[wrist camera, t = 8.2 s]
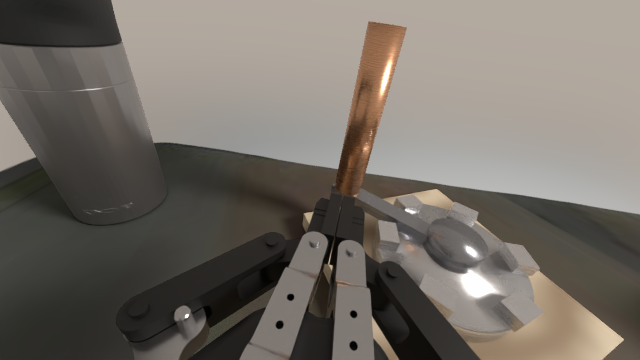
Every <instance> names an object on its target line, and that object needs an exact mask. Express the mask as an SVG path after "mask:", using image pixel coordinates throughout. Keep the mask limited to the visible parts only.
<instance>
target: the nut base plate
mask: <svg viewBox="0 0 640 360" xmlns="http://www.w3.org/2000/svg"><path fill="white" fill-rule="evenodd" d="M407 195H412V194H407ZM407 195H402V196H396V197H391V198H385V199H383V200H385V201H387V202H389V203H391V204H394V202H395V199H396V198H398V197H403V196H407ZM413 195H414V196H416V197H417V198H418V199H419V200H420V201H421V202H422V203H423V204H426V205H432V206H437V207H440V208H444V209H447V210H450V208H451V207H452V205H453V203H454V202H452V201H451V200H450V199H449V198H447V197H446V196H445V195H444V194H442V193H441V192H440V191H439V190H437V189H434V190H429V191H424V192H418V193H413ZM340 209H341V207H340ZM339 213H340V212H339ZM364 213H365V220H364V238H363V247H364V250H365V252H366V253H367V255H368V256H369V257H371V258H372V259H373V256H372V244H373V239H374V236H375V234H376V233H375V227H376V224H377V221H378V219H377V218H375V217H373V216H371V215H369V214H368V213H366V212H364ZM312 215H313V212H309V213H304V217H303V227H304V229H305V232H307V230H308V227H309V224H310V221H311V218H312ZM475 223H477V224H478V225H480V226H481V227H483V226H482V225H481V224H480V223H478V222H477V221H476V222H475ZM483 228H484V229H486V228H485V227H483ZM486 230H487V229H486ZM487 231H488V230H487ZM489 232H490V231H489ZM490 233H491V232H490ZM491 234H492V233H491ZM494 236H495V235H494ZM495 237H496V236H495ZM496 238H497V237H496ZM497 239H498V238H497ZM499 240H500V239H499ZM500 241H501V240H500ZM333 242H334V241H333ZM501 242H502V241H501ZM502 243H503V242H502ZM332 248H333V245H332ZM331 253H332V250H331ZM330 258H331V254H330ZM330 258H329V262H328V264H325V265H324V269H323V272H324V274H325V276H326V278H327V280H328V283H329V284H330V277H331V273H332V268H333V266H332V265H329V263H330ZM528 277H529V279H530V281H531V284H532V287H533V292H534V303H535V304H536V305H537V306H538V307H539V308H540V309H542V310H543V311H544V313H543V314H541V315H540V316H539V317H537V318H536V319H535V320H533V321H532V322H530V323H529V324H527V325H526V326H524V327H523V328H521V329H519V330H518V331H516V332H515V333H514V332H513V331H511V332H510V333H508V334H507V335H506V336H504V337H502V338H500V339H498V340H495V341H491V342H482V343H476V342H468V341H465V342H466V343H467V344H468V345H469V346H470V348H471V349H472V350H473V351H474V352H475V353H476V355H477V356H478V357H479V358H480V359H481V360H602V359H603V358H604V357H605V356H606V355H607V354H609V353H610V352H611V351H612V350H613V349H614V348H615V347H616V346H617V345H619V344H620V343H621V342H622V341H623V340H624V339H623V338H622V337H620V336H619V335H618V334H617V333H615V332H614V331H613V330H612V329H610V328H609V327H608V326H607V325H605V324H604V323H603V322H602V321H600V320H599V319H598V318H597V317H595V316H594V315H593V314H592V313H590V312H589V311H588V310H587V309H585V308H584V307H583V306H582V305H580V304H579V303H578V302H577V301H576V300H574V299H573V298H572V297H571V296H569V295H568V294H567V293H566V292H564V291H563V290H562V289H561V288H559V287H558V286H557V285H556V284H554V283H553V282H552V281H551V280H549V279H548V278H547V277H546V276H544V275H543V274H542V273H541V272H539V271H537V272H536V273H535V274H533V275H532V276H528ZM372 327H373V339H374V340H376V342H377V343H378V344H379V345H380V346H381V348H382V349H383V350H384V352H385V353H386V355H387V357H388V359H389V360H399V359H398V357H397V355H396V354H395V352H394V351H393V349H392V347H391V346H390V344H389V343H388V341H387V339H386V338H385V336H384V335H383V333H382V331H381V330H380V328H379V327H378V325H377V323H376V322H375V320H374V319H373V317H372Z"/></svg>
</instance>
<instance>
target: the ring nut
mask: <svg viewBox="0 0 640 360" xmlns="http://www.w3.org/2000/svg"><path fill="white" fill-rule="evenodd" d="M406 29H407V28H406V27H401V26H396V25H389V24H383V23H376V22H368V27H367V31H366V36H365V41H364V46H363V52H362V56H361V61H360V66H359V70H358V75H357V80H356V85H355V90H354V95H353V100H352V105H351V109H350V114H349V119H348V124H347V129H346V135H345V139H344V144H343V149H342V153H341V158H340V163H339V168H338V173H337V178H336V183H335V184H333V185H332V190H331V193H332V192H334V193H338V194H343V196H344V195H347V196H352V197H355V203H354V205H355V206H359V207H362V208H363V211H364V212H366V213H368V214H369V215H371V216H373V217H375V218H377V219H378V221H377V224H376V227H375V233H376V234H375V236H374V239H373V244H372V256H373V259H374V260H375V261H377V262H379V263H382V262H384V261H392V262H395V263H397V264H399V265H400V266H401V267H402V268H403V269H404V270H405V271H406V272H407V273H408V275H409V276H410V277H411V278H412V279H413V281H414V282H415V283H416V284H417V285H418V286H419V288H420V289H421V290H422V291H423V292H424V293H425V295H426V296H427V297H428V298H429V299H430V301H431V302H432V303H433V304H434V305H435V306H436V308H437V309H438V310H439V311H440V312H441V313H442V315H443V316H444V317H445V318H446V319H447V321H448V322H449V323H450V324H451V325H452V326H453V328H454V329H455V330H456V331H457V332H458V333H459V335H460V336H461V337H462V338H463V339H464V341H468V342H476V343H482V342H491V341H495V340H498V339H500V338H502V337H504V336H506V335H507V334H508V333H510V332H511V331H513V332H514V333H515V332H516V331H518V330H519V329H521V328H523V327H524V326H526V325H527V324H529V323H530V322H532V321H533V320H535V319H536V318H537V317H539V316H540V315H541V314H543V313H544V311H543V310H542V309H540V308H539V307H538V306H537V305H536V304H535V303H534V292H533V287H532V284H531V281H530V279H529V277H528V276H532V275H533V274H535V273H536V272H537V271H538V270H539V269H540V268H539V266H538V265H537V264H536V262H535V261H534V260H533V258H532V257H531V256H530V255H529V253H528V252H527V251H526V249H525V248H524V247H523V246H522V245H516V244H511V243H505V242H504V243H502V242H501V241H500V240H499V239H497V238H496V237H495V236H494V235H493V234H491V233H490V232H489V231H487V230H486V229H484V228H483V227H481V226H480V225H478V224H477V223H475V222H476V220H477V216H478V212H477V211H475V210H472V209H470V208H468V207H466V206H463V205H461V204H459V203H457V202H454V203H453V205H452V207H451V208H450V210H447V209H444V208H440V207H437V206H432V205H426V204H423V203H422V202H421V201H420V200H419V199H418V198H417V197H416V196H414V195H413V194H412V195H407V196H403V197H398V198H396V199H395V202H394V204H391V203H389V202H387V201H385V200H383V199H381V198H379V197H377V196H375V195H373V194H371V193H369V192H367V191H365V190H363V189H361V186H362V182H363V179H364V175H365V172H366V168H367V165H368V161H369V158H370V154H371V151H372V147H373V144H374V140H375V137H376V133H377V130H378V126H379V123H380V119H381V116H382V112H383V109H384V106H385V102H386V98H387V95H388V92H389V88H390V84H391V81H392V78H393V74H394V70H395V67H396V64H397V60H398V57H399V53H400V49H401V46H402V42H403V39H404V36H405V32H406ZM343 196H342V200H343Z"/></svg>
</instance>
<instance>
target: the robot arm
mask: <svg viewBox="0 0 640 360" xmlns="http://www.w3.org/2000/svg"><path fill="white" fill-rule="evenodd" d="M0 100H1V102H2V104H3V105H4V106H5V108H6V110H7V111H8V113H9V115H10V116H11V118H12V119H13V121H14V122H15V124H16V125H17V127H18V129H19V130H20V132H21V133H22V135H23V137H24V138H25V140H26V141H27V143H28V144H29V146H30V147H31V149H32V150H33V152H34V154H35V155H36V157H37V158H38V160H39V162H40V163H41V165H42V166H43V168H44V169H45V171H46V172H47V174H48V176H49V177H50V179H51V180H52V182H53V183H54V185H55V187H56V188H57V190H58V192H59V193H60V195H61V196H62V198H63V199H64V201H65V202H66V204H67V205H68V207H69V209H70V210H71V212H72V213H73V215H74V216H75V217H76V218H77V219H78V220H79V221H82V222H84V223H88V224H93V225H107V224H116V223H121V222H125V221H128V220H132V219H135V218H137V217H140V216H142V215H144V214H146V213H148V212H150V211H151V210H153V209H154V208H156V207H157V206H158V205H160V204H161V202H162V201H163V200H164V199H165V197H166V195H167V187H166V183H165V180H164V177H163V173H162V170H161V167H160V163H159V159H158V156H157V153H156V150H155V146H154V143H153V140H152V137H151V133H150V130H149V127H148V123H147V120H146V117H145V114H144V110H143V107H142V104H141V101H140V97H139V94H138V91H137V87H136V84H135V81H134V78H133V75H132V72H131V68H130V66H129V62H128V59H127V55H126V52H125V49H124V46H123V43H122V39H121V36H120V33H119V29H118V26H117V23H116V19H115V15H114V11H113V6H112V2H111V0H0ZM342 196H343V194H338V193H334V192H332V193H331V196H330V200H328V199H324V198H321V199H320V200H319V201H318V202H317V203H316V206H315V209H314V212H313V215H312V218H311V221H310V224H309V227H308V230H307V232H306V234H304V236H303V237H301V238H299V239H294V240H285V238H284V236H283V235H281V234H279V233H276V232H269V233H266V234H264V235H262V236H260V237H258V238H255V239H253V240H251V241H249V242H247V243H245V244H243V245H241V246H239V247H237V248H235V249H232V250H230V251H228V252H226V253H224V254H222V255H220V256H218V257H216V258H214V259H211V260H209V261H207V262H205V263H203V264H201V265H199V266H197V267H195V268H193V269H190V270H188V271H186V272H184V273H182V274H180V275H178V276H176V277H174V278H172V279H170V280H167V281H165V282H163V283H161V284H159V285H157V286H155V287H153V288H151V289H149V290H146V291H144V292H142V293H140V294H138V295H136V296H134V297H132V298H131V299H129V300H128V301H127V302H126V303H125V304H124V305H123V306H122V307H121V308H120V310H119V312H118V314H117V316H116V324H117V326H118V328H119V329H120V330H121V332H122V333H123V335H124V338H125V339H126V340H127V342H128V343H129V344H130V346H131V347H132V349H133V354H134V359H135V360H389V359H388V357H387V355H386V353H385V352H384V350H383V349H382V348H381V346H380V345H379V344H378V343H377V342H376V340H374V339H373V327H372V317H373V319H374V320H375V322H376V323H377V325H378V327H379V328H380V330H381V331H382V333H383V335H384V336H385V338H386V339H387V341H388V343H389V344H390V346H391V347H392V349H393V351H394V352H395V354H396V355H397V357H398V359H399V360H481V359H480V358H479V357H478V356H477V355H476V353H475V352H474V351H473V350H472V349H471V348H470V346H469V345H468V344H467V343H466V342H465V341H464V339H463V338H462V337H461V336H460V335H459V333H458V332H457V331H456V330H455V329H454V328H453V326H452V325H451V324H450V323H449V322H448V321H447V319H446V318H445V317H444V316H443V315H442V313H441V312H440V311H439V310H438V309H437V308H436V306H435V305H434V304H433V303H432V302H431V301H430V299H429V298H428V297H427V296H426V295H425V293H424V292H423V291H422V290H421V289H420V288H419V286H418V285H417V284H416V283H415V282H414V281H413V279H412V278H411V277H410V276H409V275H408V273H407V272H406V271H405V270H404V269H403V268H402V267H401V266H400V265H399V264H397V263H395V262H392V261H384V262H382V263H379V262H377V261H375V260H374V259H372V258H371V257H369V256H368V255H367V253H366V252H365V250H364V247H363V238H364V220H365V213H364V211H363V208H362V207H359V206H355V205H354V203H355V197H352V196H347V195H344V196H343V200H342ZM341 201H342V204H341ZM340 207H341V209H340ZM339 212H340V213H339ZM333 241H334V242H333ZM332 245H333V248H332ZM331 250H332V253H331ZM330 254H331V258H330ZM329 258H330V263H329V265H332V266H333V268H332V273H331V277H330V284H329V295H328V305H327V314H326V318H319V317H317V316H315V315H313V314H311V313H310V309H311V306H312V303H313V300H314V296H315V293H316V290H317V287H318V283H319V280H320V277H321V274H322V273H323V269H324V265H325V264H328V262H329ZM276 285H277V286H276ZM275 286H276V288H275V290H274V292H273V295H272V297H271V299H270V301H269V303H268V305H267V307H266V308H263V309H260V310H257V311H255V312H253V313H251V314H250V315H248V316H247V317H245V318H244V319H243V320H241V321H240V322H239V323H237V324H236V325H234V326H233V327H232V328H230V329H229V330H227V331H226V332H225V333H223V334H222V335H221V336H219V337H218V338H216V339H215V340H214V341H212V342H211V343H210V344H208V345H207V346H205V347H204V348H203V349H201V350H200V351H198V352H197V353H196V354H194V353H195V352H196V351H197V350H198V349H199V348H200V347H201V346H202V345H203V344H204V343H205V342H206V340H207V338H208V335H209V330H210V329H209V328H211V327H213V326H214V325H216V324H217V323H219V322H220V321H222V320H223V319H225V318H227V317H228V316H230V315H231V314H233V313H234V312H236V311H237V310H239V309H241V308H242V307H244V306H245V305H247V304H248V303H250V302H251V301H253V300H255V299H256V298H258V297H259V296H261V295H262V294H264V293H265V292H267V291H268V290H270V289H272V288H273V287H275ZM193 354H194V355H193ZM192 355H193V356H192ZM191 356H192V357H191Z"/></svg>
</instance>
